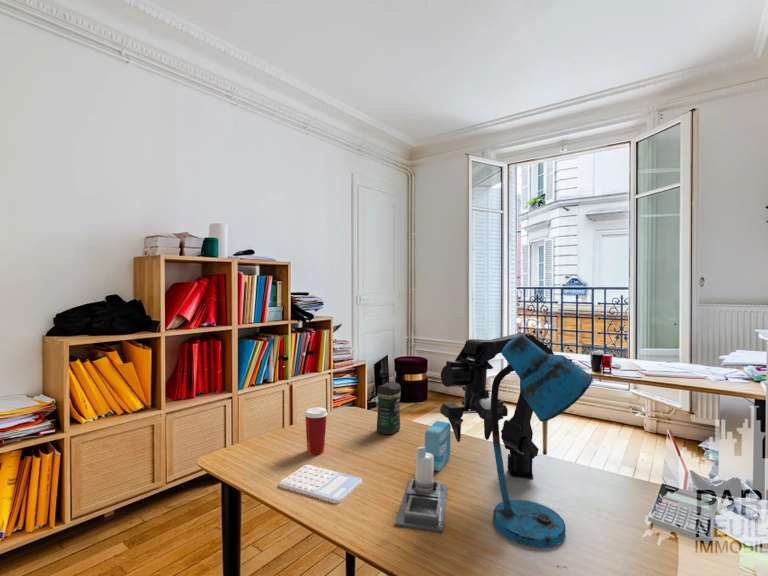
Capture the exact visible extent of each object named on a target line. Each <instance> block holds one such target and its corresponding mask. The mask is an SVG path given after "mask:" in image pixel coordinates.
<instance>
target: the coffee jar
mask: <svg viewBox="0 0 768 576" xmlns="http://www.w3.org/2000/svg"><path fill="white" fill-rule="evenodd" d="M401 389H402V388H401V385H400V383H399V382H394V381H388V382H386V383H382V385H378V387H377V417H376V418H377V419H376V432H378V433H380V434H382V435H393V434H395V433H397V432H399V431H400V429H401V407H400V404H401V402H400V401H401V394H402V392H401V391H402V390H401Z"/></svg>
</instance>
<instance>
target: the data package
mask: <svg viewBox="0 0 768 576" xmlns="http://www.w3.org/2000/svg"><path fill="white" fill-rule="evenodd" d="M451 428H452V426H451V424H450V422H446V421H440V420H436V421H434V423H432V424H431V425H430V426H429V427H428V428H427V429H426V430H425V433H424V447H425V448H426V452H427V453H431V454H432V455H433V456H434V466H433V471H435V472H440V471H441V470H442V469H443V468H444V466H445V465H446V464H447V462H448V461H450V458H451Z"/></svg>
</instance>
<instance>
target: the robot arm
mask: <svg viewBox="0 0 768 576" xmlns="http://www.w3.org/2000/svg"><path fill="white" fill-rule="evenodd" d="M520 334H523V335H524V336H525V337H527V338H528V339H529V340H530V341H532V342H533V343H534V344H535V345H537V346H538V347H539V348H540V349H542V350H543V351H544V352H546V353H547V354H552V355H555V353H554V352H553V349H552V348H550V347H549V346H547V344H545V343H543V342H541V341H540V340H539V339H537V338H536V337H535V336H534V335H533V334H531V333H527V332H523V331H522V332H520V331H519V332H516V333H514V334H510V335H505V336H501V337H495V338H493V339H480V338H477V339H476V338H475V339H474V338H470V339H467V340H466V341H465V343H464V345H463V347H462V349H461V350H460V352H459V354H458V355H457V356H456V358H455V361H451V360H446V363H445V365H444V366H443V367H442V368H441V371H440V379H441V380H440V381H441V382H442V384H443V386H445V387H446V388H452V387H453V388H454V387H462V391H464V397H463V398H464V399H463V400H461V405H462V406H460V405H457V403H454V402H451V403H449V402H447V403H442V404H441V406H440V409H439V411H440V412H439V413H440V414H441V415H442V416H444V417H445V418H446V419H448V421H449V422H448V423H450V426H451V428H452V432H453V434H454V437H455V440H456V442H458V443H460V442H461V437H462V436H461V435H462V434H461V432H462V423H463V422H464V419H463V418H462V417H464V415H465V414H466V415H467V414H477V415H478V416H479V418H480V419H482V420H483V426H484V427H483V434H484V438H485V439H484V440H487V441H488V440H490V437H491V436H492V421H491V397H490V392H489V389H488V390H487V376H488V375H487V370H493V369H494V366H493V365H492V364H491V363H490V362H489V361H491V360H492V359H495V357H497V356H496V355H499V354H501V351H502V350H503V348H504V347H505V345H506V344H507V343H508V342H509V341H510V340H512V339H513V338H514V337H516V336H518V335H520ZM508 411H509V409H508V407H507V405H505V404H504V401H503V400H502V399H501V398H498V422H499V421H501V420H503V419H504V417H508ZM533 413H534V411H533V410H532V408H531V407H530V406H529V404H528V403H527V401H526V400H525V398H524V397H523V395H522V394H521V392H520V391H519V394H518V398H517V402H516V405H515V410H514V413H513V416H512V417H511V418H510V419H504V421H503V427H502V429H501V431H500V433H501V436H500V438H501V440H502V442H503V445H504V449H506V450H508V451H509V453H508V454H507V466H506V467H507V470H508V471H509V475H510V476H511V477H517V478H518V477H519V478H527V479H534V474H533V459H535V458H536V457H538V454H539V448H538V446H537V445H536V444H535V443H534V441H533V437H534V436H533V435H534V433H533V428H532V425H531V420H532V417H533Z"/></svg>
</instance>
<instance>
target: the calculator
mask: <svg viewBox="0 0 768 576" xmlns="http://www.w3.org/2000/svg"><path fill="white" fill-rule="evenodd" d="M362 483H363V479H362V478H361V477H359V476H356V475H355V476H354V475H351V474H347V473H343V472H339V471H336V470H332V469H329V468H328V469H327V468H324V467H320V466H316V465H311V464H305V465H303V466H302V467H300V468H299V469H297V470H296V471H294V472H292V473H290V474H289V475H288V476H287V477H285V478H283V479H282V480H280V481H279V484H278V485H279V486H278V487H280V488H281V487H282V488H281V489H284V488H285V489H284V490H287V489H289V490H288V491H291V490H292V491H291V492H294V491H296V492H295V493H297V492H299V493H298V494H301V493H303V494H302V495H304V494H306V495H305V496H307V495H311V496H313V497H312V498H314V497H316V498H315V499H317V498H319V499H318V500H321V499H322V500H321V501H324V500H325V501H324V502H328V501H329V502H328V503H331V502H332V503H331V504H335V503H336V505H338V504H340V503H342V502H343V501H344V500H346V498H348V497H349V495H352V493H353V492H355V490H356V489H357V488H358V487H360V486H361V484H362ZM311 496H310V497H311Z"/></svg>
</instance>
